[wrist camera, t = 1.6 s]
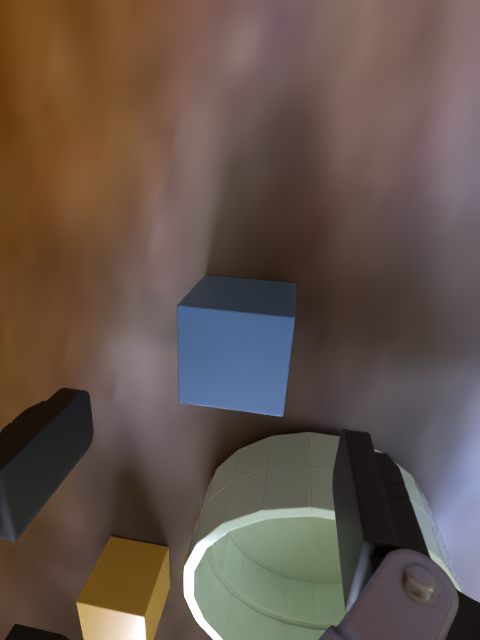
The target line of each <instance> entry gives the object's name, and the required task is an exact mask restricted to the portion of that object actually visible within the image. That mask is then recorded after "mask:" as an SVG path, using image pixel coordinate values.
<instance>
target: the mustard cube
mask: <svg viewBox="0 0 480 640" xmlns="http://www.w3.org/2000/svg"><path fill="white" fill-rule="evenodd" d="M169 589H170V568H169V547H166V546H160V545H155V544H150V543H145V542H139V541H134V540H129V539H124V538H118V537H113V536H110V538H109V540H108V542H107V544H106V546H105V548H104V550H103V552H102V554H101V555H100V557H99V559H98V561H97V563H96V565H95V567H94V569H93V571H92V573H91V575H90V577H89V578H88V580H87V582H86V584H85V586H84V588H83V590H82V592H81V594H80V596H79V598H78V600H77V602H76V603H77V608H78V613H79V618H80V623H81V628H82V633H83V638H84V640H154V636H155V633H156V630H157V627H158V624H159V621H160V617H161V614H162V611H163V608H164V605H165V601H166V598H167V595H168V592H169Z"/></svg>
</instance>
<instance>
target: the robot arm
mask: <svg viewBox="0 0 480 640" xmlns="http://www.w3.org/2000/svg"><path fill="white" fill-rule="evenodd" d="M92 438H93V421H92V412H91V403H90V396H89V393H88V392H87V391H83V390H76V389H70V388H61V389H60V390H58V391H57V392H56V393H55V394H54V395H53V396H51V397H50V398H49V399H48V400H47V401H42V402H40V403H38V404H36V405H34V406H32V407H30V408H28V409H26V410H25V411H24V412H22V413H21V414H20V415H19V416H18V417H16V418H15V419H14V420H13V422H12V423H9V424H8V425H7V426H6V427H4V428H3V429H2V431H1V433H0V540H5V541H10V542H15V541H16V540H17V539H18V538H19V536H20V535H21V534H22V533H23V531H24V530H25V529H26V527H27V526H28V525H29V524H30V522H31V521H32V520H33V519H34V517H35V516H36V515H37V513H38V512H39V511H40V510H41V508H42V507H43V506H44V505H45V503H46V502H47V501H48V499H49V498H50V497H51V496H52V494H53V493H54V492H55V491H56V489H57V488H58V487H59V485H60V484H61V483H62V482H63V480H64V479H65V478H66V477H67V475H68V474H69V473H70V471H71V470H72V469H73V468H74V466H75V465H76V464H77V463H78V461H79V460H80V459H81V457H82V456H83V455H84V454H85V452H86V451H87V450H88V448H89V446H90V444H91V442H92ZM332 491H333V501H334V510H335V520H336V529H337V539H338V548H339V558H340V567H341V576H342V586H343V595H344V605H345V612H347V613H346V615H345V616H344V617H343V619H342V620H341V622H340V623H339V624H338V625H337V626H336V627H335V626H334V625H331V626H330V627H328V628H327V630H326V631H325V632H324V633H323V634H322V636H321V637H320V638H319V640H480V603H479V602H477V601H475V600H473V599H471V598H469V597H468V596H466V595H464V594H463V593H461V592H460V591H459V590H457V589H456V588H455V586H454V584H453V582H452V580H451V579H450V577H449V576H448V574H447V573H446V572H445V571H444V570H443V569H442V568H441V567H440V566H439V565H438V564H437V563H436V562H435V561H433V560H432V559H431V557H430V554H429V552H428V549H427V546H426V543H425V540H424V537H423V534H422V531H421V529H420V526H419V523H418V520H417V517H416V514H415V511H414V508H413V505H412V503H411V501H410V497H409V494H408V491H407V488H406V487H405V482H404V480H403V477H402V474H401V471H400V468H399V467H398V466H397V465H396V463H395V462H394V461H393V460H392V459H391V457H390V456H389V455H388V454H386V453H380V452H375V451H374V447H373V444H372V440H371V436H370V434H369V433H368V432H361V431H354V430H347V429H342V431H341V435H340V439H339V444H338V449H337V454H336V459H335V464H334V469H333V479H332ZM5 640H69V639H68V638H66V637H65V636H63V635H62V634H57V633H53V632H49V631H45V630H40V629H36V628H32V627H28V626H23V625H19V624H15V625H14V626H13V628H12V629H11V631H10V633H9V634H8V636H7V637H6V639H5Z"/></svg>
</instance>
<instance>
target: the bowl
mask: <svg viewBox="0 0 480 640" xmlns="http://www.w3.org/2000/svg"><path fill="white" fill-rule="evenodd" d="M339 439H340V436H334V435H327V434H320V433H313V432H303V433H294V434H284V435H275V436H271V437H267V438H265V439H262V440H260V441H258V442H255V443H253V444H250V445H248V446H245V447H243V448H240V449H238V450H237V451H236V452H235V453H234V454H233V455H231V456H230V457H229V458H228V459H227V460H226V461H225V462H224V463H222V464H221V465H220V466H219V467H218V468H217V469H216V471H215V473H214V475H213V477H212V480H211V482H210V484H209V486H208V488H207V490H206V493H205V496H204V499H203V503H202V506H201V509H200V513H199V516H198V520H197V523H196V526H195V530H194V533H193V536H192V540H191V543H190V546H189V550H188V553H187V557H186V560H185V563H184V567H183V586H184V597H185V599H186V601H187V603H188V605H189V608H190V610H191V612H192V614H193V616H194V618H195V620H196V621H197V622H198V623H199V625H200V626H201V627H202V628H203V629H204V630H205V631H206V632H207V633H208V634H209V635H210V636H211V637H212V638H213V640H319V638H320V637H321V636H322V634H323V633H324V632H325V631H326V630H327V628H328V627H330V626H331V625H334V626H335V627H336V626H337V625H338V624H339V623H340V622H341V620H342V619H343V617H344V616H345V615H346V613H347V612H345V605H344V595H343V586H342V576H341V567H340V558H339V548H338V539H337V529H336V520H335V510H334V501H333V491H332V479H333V469H334V464H335V459H336V454H337V449H338V444H339ZM374 451H375V452H380V453H383V452H381V451H379V450H376V449H374ZM394 462H395V461H394ZM395 463H396V462H395ZM396 465H397V466H398V467H399V468H400V471H401V474H402V477H403V480H404V482H405V487H406V488H407V491H408V494H409V497H410V501H411V503H412V505H413V508H414V511H415V514H416V517H417V520H418V523H419V526H420V529H421V531H422V534H423V537H424V540H425V543H426V546H427V549H428V552H429V554H430V557H431V559H432V560H433V561H435V562H436V563H437V564H438V565H439V566H440V567H441V568H442V569H443V570H444V571H445V572H446V573H447V574H448V576H449V577H450V579H451V580H452V582H453V584H454V586H455V588H456V589H457V590H459V591H460V592H461V593H463V591H462V589H461V586H460V583H459V581H458V578H457V576H456V573H455V571H454V568H453V565H452V563H451V560H450V558H449V555H448V553H447V550H446V547H445V545H444V542H443V540H442V537H441V534H440V532H439V529H438V527H437V524H436V522H435V519H434V516H433V514H432V511H431V509H430V506H429V504H428V501H427V500H426V498H425V496H424V495H423V493H422V491H421V490H420V488H419V486H418V485H417V483H416V481H415V480H414V478H413V476H412V475H411V474H409V473H408V472H407V471H406V470H404V469H403V468H402V467H401V466H400V465H398V464H397V463H396Z"/></svg>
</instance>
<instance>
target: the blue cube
mask: <svg viewBox="0 0 480 640" xmlns="http://www.w3.org/2000/svg"><path fill="white" fill-rule="evenodd" d="M295 309H296V283H289V282H278V281H267V280H257V279H246V278H235V277H225V276H214V275H205V276H204V277H203V278H202V279H201V280H200V281H199V282H198V283H197V284H196V285H195V287H194V288H193V289H192V290H191V291H190V292H189V293H188V294H187V295H186V296H185V297H184V298H183V300H182V301H181V302H180V303H179V304H178V305H177V321H178V386H179V402H180V403H187V404H194V405H201V406H208V407H216V408H223V409H230V410H237V411H244V412H251V413H259V414H266V415H273V416H280V417H283V415H284V406H285V398H286V390H287V382H288V374H289V365H290V357H291V349H292V341H293V332H294V324H295Z"/></svg>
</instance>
